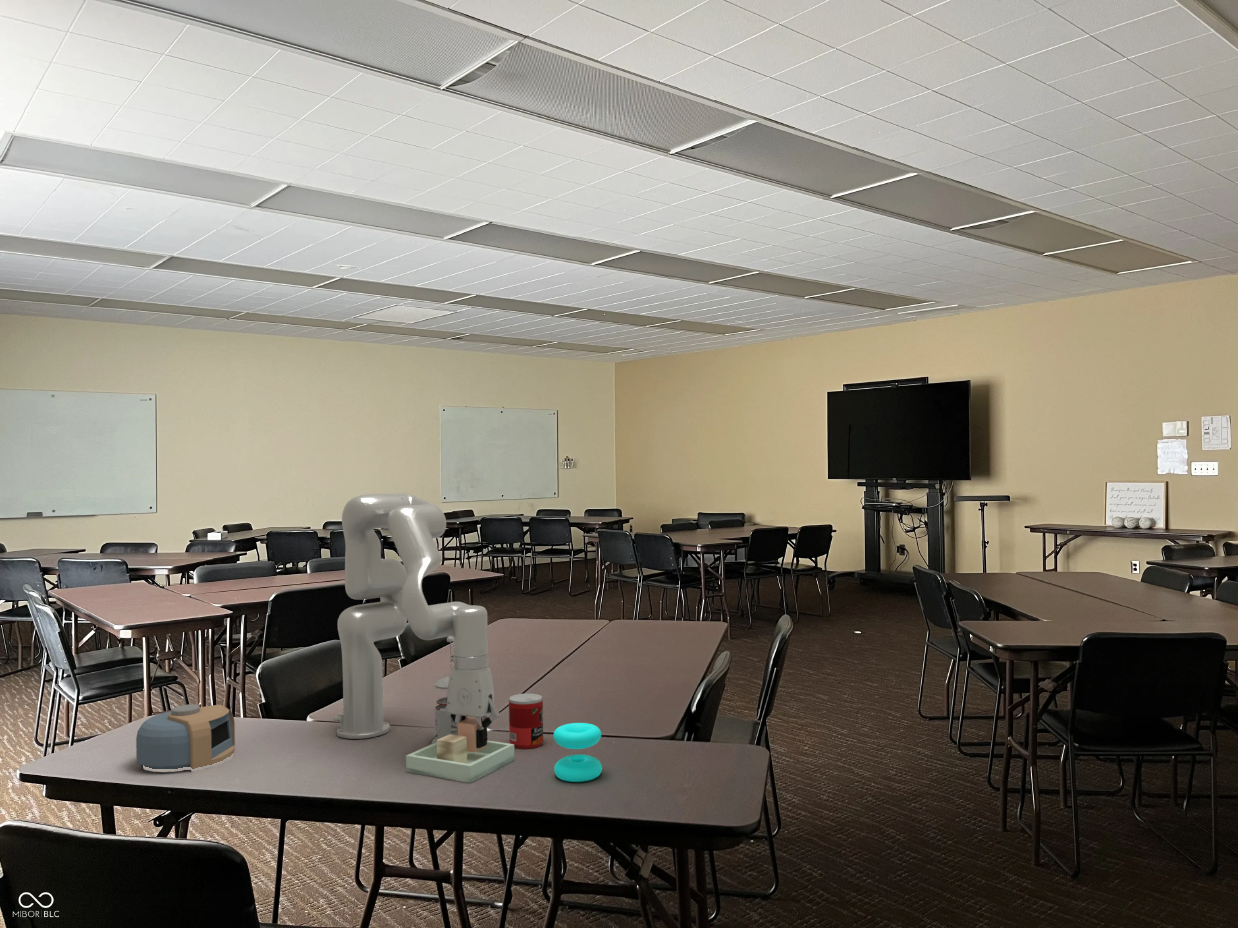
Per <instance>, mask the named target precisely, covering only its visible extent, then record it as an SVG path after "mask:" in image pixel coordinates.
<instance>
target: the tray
mask: <svg viewBox="0 0 1238 928" xmlns="http://www.w3.org/2000/svg"><path fill="white" fill-rule="evenodd" d="M513 761H515V748H514V744H510V743H509V742H508V743H507V742H501V741H493V740H488V739H487V747H485V748H483V749H481V750H479V751H477V752H475V753H474V752H467V763H460V762H454V761H448V760H442V759H437V742H436V743H434V744H432V743H431V744H430V745H427V746H425V747H423V748H419V749H418V750H416V751H413V752H411V753H409V754H407V755H405V769H406V770H405V771H406V773H409V774H410V773H411V774H416V775H422V776H427V777H433V778H438V779H445V780H451V781H455V782H462V783H468V784H471V783H474V782H476V781H478V780H479V779H481V778H483V777H485V776H487V775H490V774H491V773H493V772H495V771H497V770H499V769H501V768H502V767H504V766H506V765H508V764H510V763H512V762H513Z"/></svg>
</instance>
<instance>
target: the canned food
mask: <svg viewBox="0 0 1238 928" xmlns="http://www.w3.org/2000/svg"><path fill="white" fill-rule="evenodd" d="M508 718H509V719H508V722H509V724H508V725H509V728H508V729H509V744H514V749H520V750H530V749H536V748H539V747H540V746H542V745H543V743H544V701H543V696H542V695H540V694H538V693H537V694H536V693H519V694H514V695H511V696H509V699H508Z"/></svg>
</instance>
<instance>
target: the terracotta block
mask: <svg viewBox="0 0 1238 928" xmlns="http://www.w3.org/2000/svg"><path fill="white" fill-rule="evenodd" d="M482 720H483V718H482ZM457 729H458V736H465V737H467V752H474V753H475V752H477V751H479V750H481V749H483V748H485V747H487V745H485V746H483V747H481V748H477V747H476V730H478V725H477V720H476V717H468V718H467V719H465V720H463V721H460V722H458V723H457Z"/></svg>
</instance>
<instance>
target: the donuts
mask: <svg viewBox="0 0 1238 928" xmlns="http://www.w3.org/2000/svg"><path fill="white" fill-rule="evenodd" d="M601 738H602V731H601V729H600V728H599V727H598V726H597V725H595V724H592V723H587V722H572V723H566V724H562V725H560V726H558V727H557V728H556V729H555V730H554V731H553V740H554V741H555V743H556V744H557V745H558V746H560V747H562V748H565V749H570V750H581V749H582V750H584V749H587V748H591V747H593V746H595V745H597V744H598V742H599V741H600V740H601ZM553 768H554V769H553V772H554V774H555V776H556V777H557V778H559V780H562V781H565V782H571V783H582V782H583V783H584V782H589V781H592V780H594V779H596V778H598V777H599V776H600V774H601V773H602V771H603V765H602V763H601V762H600V760H599V759H597V757H595V756H592V755H588V754H581V753H580V754H571V755H566V756H564V757H562V758H560V759H558V760H557V762H556V763H555V764H554V767H553Z"/></svg>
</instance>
